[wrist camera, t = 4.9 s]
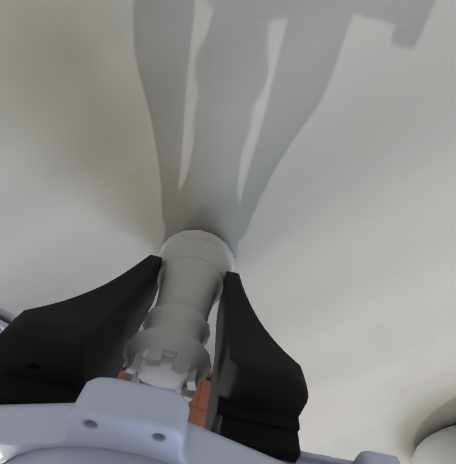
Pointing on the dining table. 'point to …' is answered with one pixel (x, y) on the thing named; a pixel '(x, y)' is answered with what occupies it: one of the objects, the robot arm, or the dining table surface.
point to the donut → (437, 448)
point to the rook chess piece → (180, 314)
